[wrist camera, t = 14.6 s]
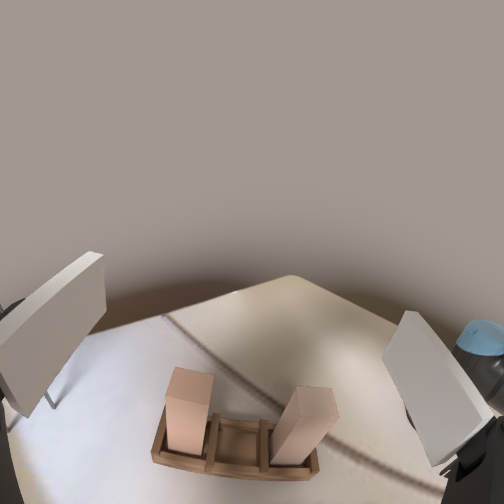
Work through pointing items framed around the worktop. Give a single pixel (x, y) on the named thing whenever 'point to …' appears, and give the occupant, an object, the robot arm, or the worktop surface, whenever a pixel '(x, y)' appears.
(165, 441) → the rack
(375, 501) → the worktop surface
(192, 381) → the clay bar
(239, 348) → the worktop surface
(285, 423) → the clay bar
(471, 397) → the robot arm
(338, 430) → the worktop surface
